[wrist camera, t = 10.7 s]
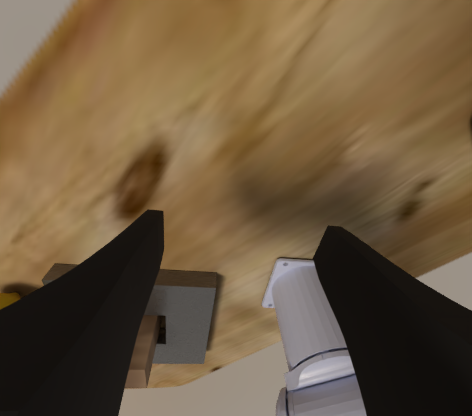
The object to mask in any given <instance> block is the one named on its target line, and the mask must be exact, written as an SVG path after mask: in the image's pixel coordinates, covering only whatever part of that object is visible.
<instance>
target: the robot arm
mask: <svg viewBox="0 0 472 416" xmlns="http://www.w3.org/2000/svg"><path fill="white" fill-rule="evenodd" d="M163 251H164V218H163V211H159V210H147V211H145V212H144V213H143V214H142V215H141V216H140V217H139V218H137V219H136V220H135V221H134V222H133V223H132V224H131V225H130V226H128V227H127V228H126V229H125V230H124V231H123V232H121V233H120V234H119V235H118V236H117V237H115V238H114V239H113V240H112V241H110V242H109V243H108V244H107V245H105V246H104V247H103V248H101V249H100V250H99V251H97V252H96V253H95V254H93V255H92V256H91V257H89V258H88V259H86V260H85V261H84V262H82V263H81V264H79V265H78V266H76V267H75V268H73V269H71V270H70V271H68V272H67V273H65V274H64V275H62V276H60V277H59V278H57V279H55V280H54V281H52V282H50V283H48V284H47V285H45V286H43V287H41V288H39V289H38V290H36V291H34V292H32V293H30V294H29V295H27V296H25V297H23V298H21V299H20V300H18V301H16V302H14V303H12V304H10V305H8V306H6V307H4V308H2V309H0V416H118V414H119V410H120V405H121V401H122V396H123V392H124V388H125V383H126V379H127V375H128V371H129V367H130V362H131V358H132V354H133V350H134V346H135V342H136V338H137V334H138V331H139V328H140V324H141V321H142V318H143V315H144V313H145V310H146V307H147V304H148V301H149V298H150V296H151V293H152V290H153V287H154V284H155V281H156V278H157V275H158V273H159V269H160V265H161V261H162V256H163ZM262 306H263V307H265V308H275V311H276V315H277V320H278V324H279V328H280V333H281V337H282V342H283V346H284V350H285V355H286V359H287V364H288V368H289V372H287V373H284V377H285V381H286V387H284V388H282V389H281V390H280V393H279V397H278V400H277V403H276V416H472V311H471V310H469V309H467V308H465V307H463V306H461V305H460V304H458V303H456V302H454V301H452V300H451V299H449V298H447V297H445V296H444V295H442V294H440V293H438V292H437V291H435V290H434V289H432V288H430V287H428V286H427V285H425V284H424V283H422V282H420V281H419V280H417V279H416V278H414V277H413V276H411V275H410V274H408V273H407V272H405V271H404V270H402V269H401V268H399V267H398V266H396V265H395V264H393V263H392V262H390V261H389V260H388V259H386V258H385V257H383V256H382V255H381V254H379V253H378V252H376V251H375V250H374V249H372V248H371V247H370V246H368V245H367V244H365V243H364V242H363V241H361V240H360V239H359V238H357V237H356V236H354V235H353V234H351V233H350V232H348V231H347V230H345V229H344V228H342V227H339V226H328V227H327V229H326V231H325V233H324V235H323V238H322V240H321V242H320V244H319V246H318V249H317V251H316V253H315V255H314V257H313V260H300V259H285V258H279V259H277V260H276V262H275V265H274V268H273V271H272V274H271V277H270V280H269V283H268V286H267V289H266V292H265V294H264V297H263V300H262Z"/></svg>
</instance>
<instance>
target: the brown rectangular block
mask: <svg viewBox="0 0 472 416" xmlns="http://www.w3.org/2000/svg"><path fill="white" fill-rule="evenodd" d="M160 325H161V315H143V318H142V321H141V324H140V328H139V331H138V334H137V338H136V342H135V346H134V350H133V354H132V358H131V362H130V367H129V371H128V375H127V379H126V383H125V388H147V385H148V381H149V376H150V371H151V367H152V362H153V358H154V353H155V348H156V344H157V339H158V335H159V330H160Z"/></svg>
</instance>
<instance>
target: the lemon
mask: <svg viewBox="0 0 472 416" xmlns="http://www.w3.org/2000/svg"><path fill="white" fill-rule="evenodd" d="M18 300H20V296H19V294H18V293H15V292H14V293H9V294H7V293H0V309H2V308H4V307H6V306H8V305H10V304H12V303H14V302H16V301H18Z"/></svg>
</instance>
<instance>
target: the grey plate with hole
mask: <svg viewBox="0 0 472 416" xmlns="http://www.w3.org/2000/svg"><path fill="white" fill-rule="evenodd" d="M76 266H78V265H70V264H54V265H53V266H52V268H51V269H50V270H49V271H48V273H47V274H46V275H45V276H44V278H43V279H42V282H43V284H44V286H45V285H47V284H48V283H50V282H52V281H54V280H55V279H57V278H59V277H60V276H62V275H64V274H65V273H67V272H68V271H70V270H71V269H73V268H75V267H76ZM215 292H216V273H213V272H195V271H177V270H160V269H159V273H158V275H157V278H156V281H155V284H154V287H153V290H152V293H151V296H150V298H149V301H148V304H147V307H146V310H145V313H144V315H161V316H166V328H160V330H159V335H158V339H157V344H156V348H155V353H154V358H153V362H152V363H158V364H204V359H205V353H206V347H207V341H208V335H209V329H210V323H211V316H212V310H213V304H214V298H215Z"/></svg>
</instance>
